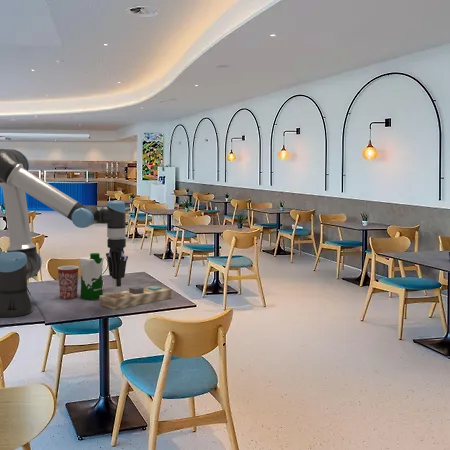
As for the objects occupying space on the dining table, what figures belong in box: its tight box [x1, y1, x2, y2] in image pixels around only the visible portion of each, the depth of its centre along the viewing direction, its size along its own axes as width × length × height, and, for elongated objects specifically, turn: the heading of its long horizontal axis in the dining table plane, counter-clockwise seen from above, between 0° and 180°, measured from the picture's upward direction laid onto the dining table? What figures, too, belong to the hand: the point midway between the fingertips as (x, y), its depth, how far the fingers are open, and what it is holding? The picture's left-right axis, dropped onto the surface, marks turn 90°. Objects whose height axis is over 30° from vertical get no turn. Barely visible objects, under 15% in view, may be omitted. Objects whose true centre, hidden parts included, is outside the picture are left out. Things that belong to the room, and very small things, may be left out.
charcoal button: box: [128, 285, 145, 294], centre depth 240 cm, size 4×4×3 cm
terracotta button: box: [109, 293, 124, 298], centre depth 233 cm, size 4×4×3 cm
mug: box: [57, 265, 80, 300], centre depth 247 cm, size 13×9×14 cm
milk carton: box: [78, 252, 105, 301], centre depth 244 cm, size 9×9×20 cm
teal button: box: [147, 285, 163, 291], centre depth 247 cm, size 4×4×3 cm
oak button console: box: [99, 285, 172, 311], centre depth 240 cm, size 30×11×4 cm, turn 135°
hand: (117, 293), depth 233 cm, fingers closed
